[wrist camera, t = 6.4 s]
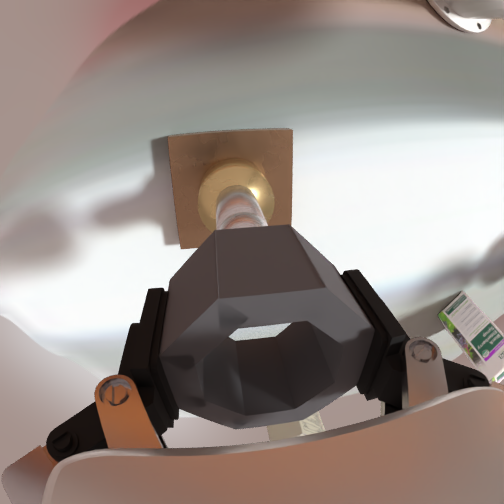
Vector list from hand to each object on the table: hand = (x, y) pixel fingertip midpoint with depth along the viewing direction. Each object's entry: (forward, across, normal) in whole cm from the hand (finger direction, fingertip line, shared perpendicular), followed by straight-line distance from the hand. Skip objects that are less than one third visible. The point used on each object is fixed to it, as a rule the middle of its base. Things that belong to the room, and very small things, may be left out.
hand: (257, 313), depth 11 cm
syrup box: (+17, -33, +20) cm, 42 cm away
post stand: (+17, 0, 0) cm, 17 cm away
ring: (+1, 0, 0) cm, 1 cm away
